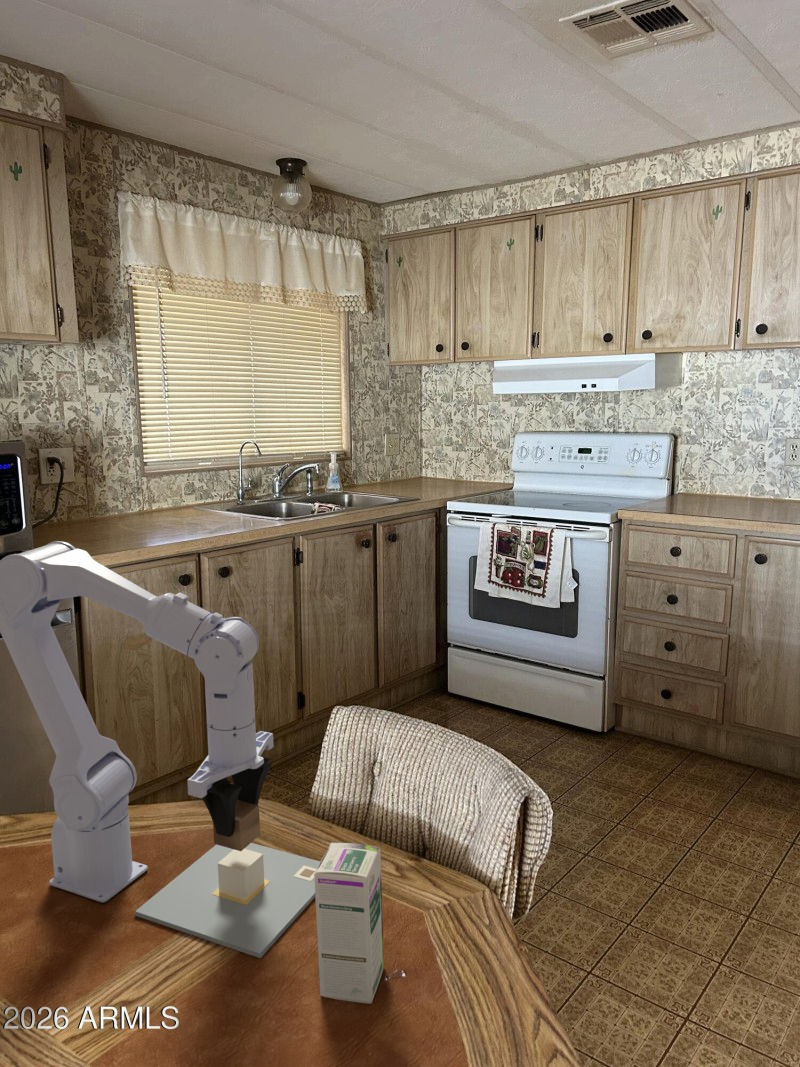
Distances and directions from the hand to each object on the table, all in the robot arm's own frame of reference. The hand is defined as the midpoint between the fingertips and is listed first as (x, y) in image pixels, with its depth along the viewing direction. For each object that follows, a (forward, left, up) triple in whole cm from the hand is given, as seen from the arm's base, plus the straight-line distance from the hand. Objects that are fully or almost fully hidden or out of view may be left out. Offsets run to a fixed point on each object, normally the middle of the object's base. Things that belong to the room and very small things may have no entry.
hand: (236, 824), depth 98 cm
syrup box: (+20, -8, -10) cm, 24 cm away
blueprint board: (0, 0, -9) cm, 9 cm away
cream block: (0, 0, -9) cm, 9 cm away
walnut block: (0, 0, -2) cm, 2 cm away
